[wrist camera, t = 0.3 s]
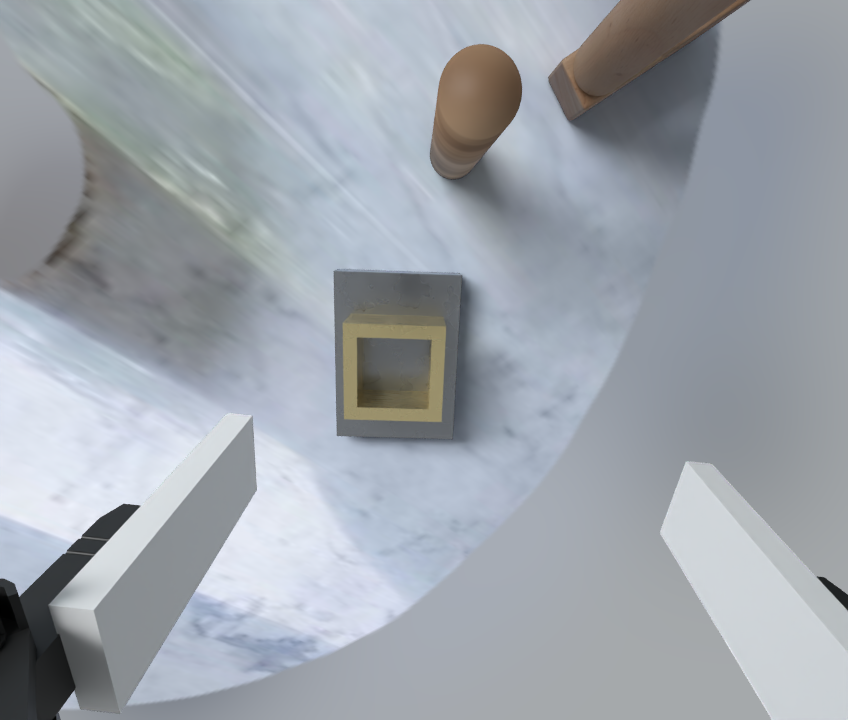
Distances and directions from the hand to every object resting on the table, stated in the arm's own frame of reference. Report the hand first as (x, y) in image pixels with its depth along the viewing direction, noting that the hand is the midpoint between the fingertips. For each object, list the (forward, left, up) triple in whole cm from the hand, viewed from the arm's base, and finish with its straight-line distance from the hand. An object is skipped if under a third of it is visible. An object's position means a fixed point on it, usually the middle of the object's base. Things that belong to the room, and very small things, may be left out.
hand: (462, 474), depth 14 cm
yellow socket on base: (+3, -3, -25) cm, 26 cm away
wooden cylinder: (-13, +1, -25) cm, 29 cm away
